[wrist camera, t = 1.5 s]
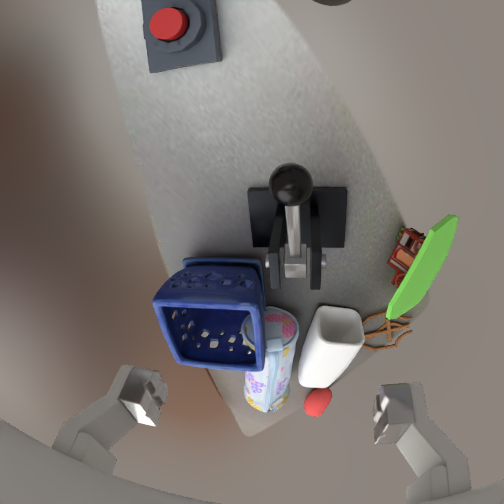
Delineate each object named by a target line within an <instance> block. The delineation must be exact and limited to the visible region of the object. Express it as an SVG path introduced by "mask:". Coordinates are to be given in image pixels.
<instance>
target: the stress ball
mask: <svg viewBox="0 0 504 504" xmlns="http://www.w3.org/2000/svg"><path fill="white" fill-rule="evenodd" d="M331 398H332V392H331V390H330V389H329V388H327V387H326V388H317V389H315V390H314V391H312V392H311V393H310V394H309V395H308V396H307V398H306V400H305V403H304V409H305V411H306V413H307V414H309V415H310V416H313V417H316V416H319V415H321V414H322V413H323V412H324V411H325V409H326V407H327V406H328V405H329V402H330V401H331Z"/></svg>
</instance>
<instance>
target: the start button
mask: <svg viewBox="0 0 504 504" xmlns="http://www.w3.org/2000/svg"><path fill="white" fill-rule="evenodd" d="M187 26H188V19H187V17H186V15H185V14H184V13H183V12H182V11H179V10H177V9H174V8H163V9H161V10H159V11H157V12H156V13H155V14H154V15H153V17H152V18H151V21H150V31H151V33H152V34H153V35H154V36H155V37H156V38H159V39H165V40H174V39H177V38H179V37H180V36H182V35H183V34H184V32H185V31H186V29H187Z"/></svg>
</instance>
